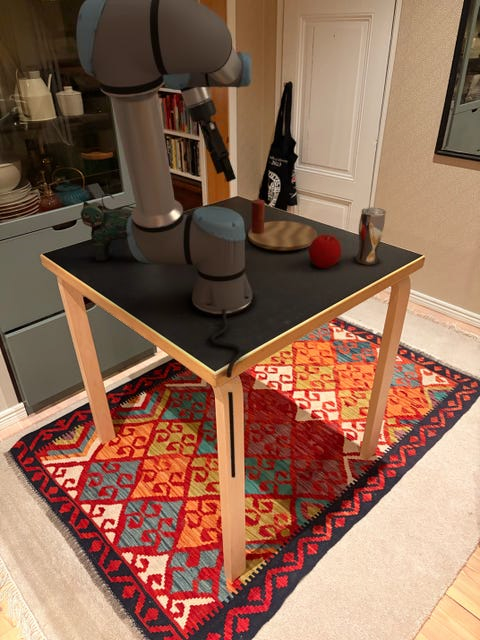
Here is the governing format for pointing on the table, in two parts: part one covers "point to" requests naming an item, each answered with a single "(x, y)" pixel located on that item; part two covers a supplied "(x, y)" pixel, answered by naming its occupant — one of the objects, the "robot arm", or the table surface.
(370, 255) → the beer glass
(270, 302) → the table surface
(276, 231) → the wooden round stand
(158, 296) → the table surface
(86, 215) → the ceramic cat
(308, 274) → the table surface
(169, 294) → the table surface
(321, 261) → the fruit
